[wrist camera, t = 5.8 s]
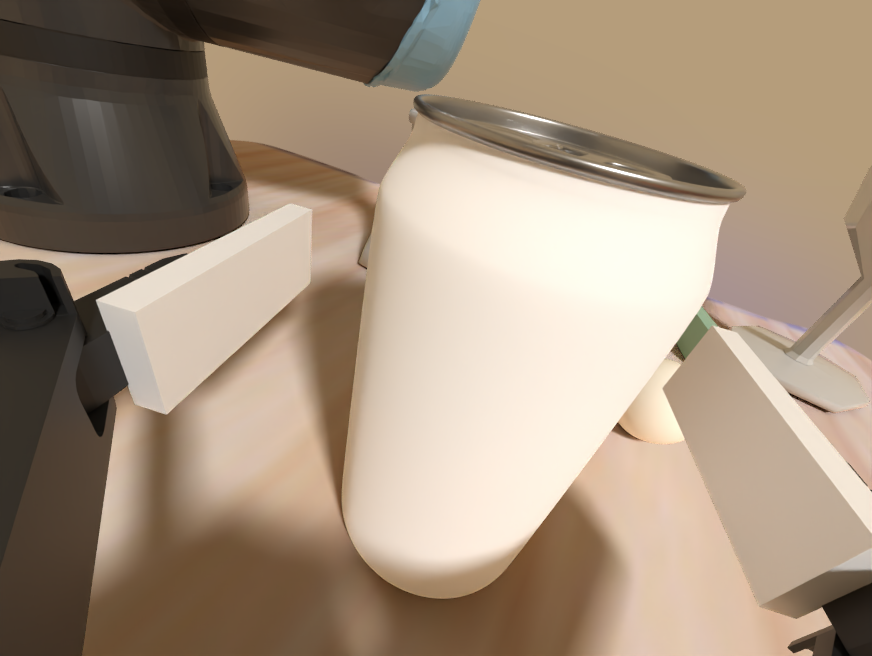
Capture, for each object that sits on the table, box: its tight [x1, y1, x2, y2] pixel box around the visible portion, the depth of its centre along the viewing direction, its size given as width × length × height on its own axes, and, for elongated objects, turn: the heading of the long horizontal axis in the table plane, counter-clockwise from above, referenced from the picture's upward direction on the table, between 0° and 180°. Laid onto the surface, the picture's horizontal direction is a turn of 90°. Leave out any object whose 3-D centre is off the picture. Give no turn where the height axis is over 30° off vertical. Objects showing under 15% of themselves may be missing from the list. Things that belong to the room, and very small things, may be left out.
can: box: [342, 95, 746, 599], centre depth 10 cm, size 6×6×12 cm
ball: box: [618, 359, 685, 444], centre depth 18 cm, size 4×4×4 cm
